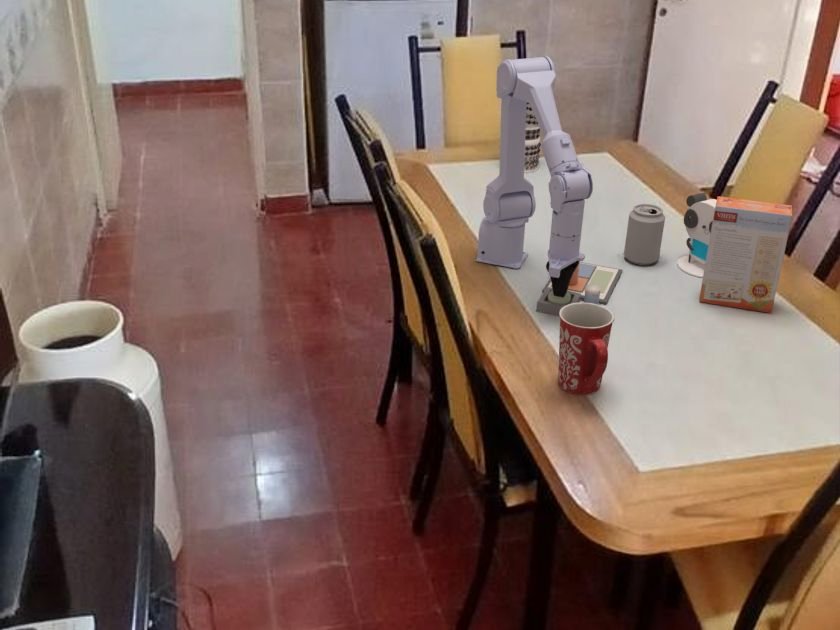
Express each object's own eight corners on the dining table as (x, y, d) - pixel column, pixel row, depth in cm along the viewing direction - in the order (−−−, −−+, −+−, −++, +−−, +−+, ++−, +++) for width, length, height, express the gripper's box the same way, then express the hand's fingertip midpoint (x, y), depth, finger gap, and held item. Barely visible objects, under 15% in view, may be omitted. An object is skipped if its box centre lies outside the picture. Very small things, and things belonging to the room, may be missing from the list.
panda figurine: (663, 261, 206) (674, 196, 198) (701, 250, 211) (713, 187, 203) (704, 283, 197) (716, 216, 189) (743, 271, 202) (756, 206, 194)
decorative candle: (504, 172, 252) (510, 78, 240) (507, 160, 260) (513, 69, 248) (538, 174, 251) (546, 80, 239) (540, 162, 259) (548, 71, 247)
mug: (545, 371, 165) (552, 303, 159) (594, 367, 167) (603, 299, 160) (568, 412, 154) (576, 341, 148) (620, 407, 156) (631, 337, 149)
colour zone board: (542, 292, 191) (542, 288, 191) (562, 261, 204) (562, 257, 204) (606, 305, 187) (606, 300, 187) (622, 272, 200) (622, 268, 200)
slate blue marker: (580, 317, 183) (583, 289, 180) (584, 310, 185) (587, 282, 182) (595, 320, 182) (598, 292, 179) (598, 313, 184) (602, 285, 181)
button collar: (536, 310, 185) (537, 301, 184) (545, 295, 190) (546, 286, 189) (571, 318, 182) (572, 308, 181) (579, 302, 188) (581, 293, 187)
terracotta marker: (562, 284, 193) (564, 257, 190) (564, 278, 195) (567, 251, 192) (576, 286, 192) (579, 259, 189) (578, 280, 194) (581, 253, 192)
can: (658, 268, 202) (666, 216, 196) (623, 265, 204) (630, 213, 198) (658, 254, 209) (666, 203, 203) (623, 250, 210) (630, 200, 204)
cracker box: (772, 301, 190) (793, 204, 180) (771, 314, 185) (793, 215, 175) (700, 289, 194) (717, 193, 184) (697, 302, 189) (715, 204, 179)
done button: (544, 306, 185) (545, 297, 184) (550, 297, 189) (551, 288, 188) (566, 311, 184) (567, 302, 183) (572, 301, 187) (573, 292, 186)
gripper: (577, 249, 171) (570, 315, 178) (595, 221, 183) (588, 283, 190) (539, 243, 174) (534, 308, 180) (559, 215, 185) (553, 277, 192)
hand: (559, 295), depth 185 cm, fingers closed, pressing on done button
